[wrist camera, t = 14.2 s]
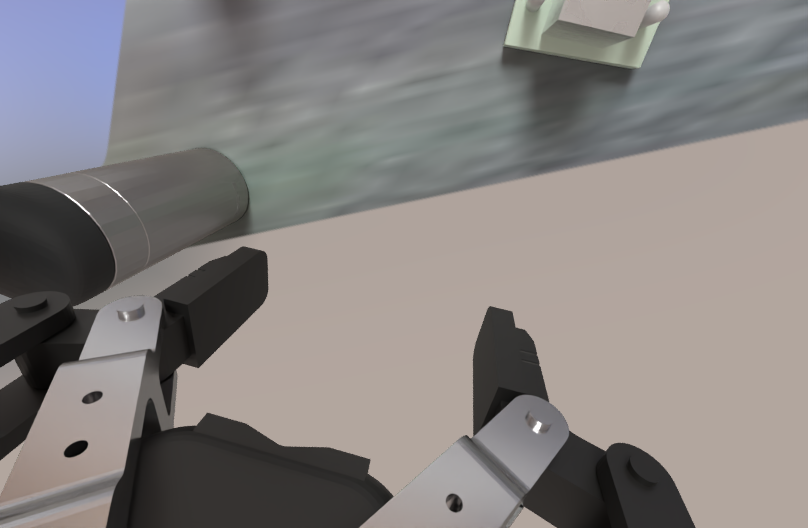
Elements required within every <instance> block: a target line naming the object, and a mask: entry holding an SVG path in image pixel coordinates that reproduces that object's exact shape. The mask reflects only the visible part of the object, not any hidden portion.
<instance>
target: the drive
mask: <svg viewBox="0 0 808 528" xmlns="http://www.w3.org/2000/svg"><path fill="white" fill-rule="evenodd" d="M650 2H651V0H553V3H552V5H551V8H550V11H549V14H548V17H547V20H546V23H545V26H544V29H543V32H542V34H543V35H547V36H552V37H556V38H560V39H564V40H569V41H573V42H577V43H581V44H586V45H590V46H594V47H598V48H606V47H608V46H611V45H614V44H617V43H620V42H622V41H625V40H628V39H631V38H633V37H635V35H636V33H637V31H638V28H639V26H640V24H641V22H642V20H643V17H644V15H645V13H646V11H647V9H648V7H649V4H650Z"/></svg>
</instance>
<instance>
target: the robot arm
mask: <svg viewBox="0 0 808 528" xmlns="http://www.w3.org/2000/svg"><path fill="white" fill-rule="evenodd" d="M247 205H248V191H247V186H246V183H245V180H244V178H243V176H242V175H241V173H240V171H239V170H238V169H237V167H236V166H235V165H234V164H233V163H232V162H231V161H230V160H229V159H228V158H227V157H225V156H224V155H222V154H221V153H219V152H217V151H214V150H212V149H207V148H196V149H191V150H186V151H180V152H175V153H169V154H164V155H159V156H154V157H149V158H143V159H138V160H133V161H128V162H123V163H118V164H112V165H107V166H102V167H97V168H92V169H87V170H81V171H76V172H71V173H66V174H62V175H57V176H51V177H47V178H41V179H36V180H31V181H25V182H19V183H14V184H9V185H3V186H0V294H2V295H5V296H7V297H9V298H12V299H10V300H8V301H5V302H3V303H1V304H0V367H2V366H4V365H5V364H7V363H9V362H10V361H12V360H13V359H15V361H16V363H17V365H18V367H19V369H20V370H21V373H22V376H20V377H19V378H17V379H16V380H14V381H13V382H11V383H10V384H8V385H7V386H5V387H4V388H2V389H1V390H0V460H1V459H3V458H4V457H5V456H6V455H7V454H9V453H10V452H11V451H12V450H13V449H15V448H16V447H17V446H18V445H19V444H21V443H22V442H23V441H24V440H25V442H24V444H23V447H22V449H21V451H20V453H19V455H18V458H17V460H16V462H15V464H14V466H13V469H12V471H11V473H10V475H9V477H8V480H7V482H6V484H5V486H4V488H3V491H2V493H1V495H0V528H509V527H510V526H511V525H512V523H513V522H514V520H515V519H516V518H517V516H518V515H519V514H520V512H521V511H522V509H523V508H524V507H526V508H527V509H529V510H531V511H532V512H534V513H535V514H537V515H538V516H540V517H541V518H543V519H544V520H546V521H547V522H549V523H551V524H552V525H554V526H555V527H557V528H695V525H694V523H693V521H692V519H691V517H690V515H689V513H688V511H687V508H686V506H685V504H684V502H683V500H682V498H681V496H680V493H679V491H678V489H677V487H676V485H675V483H674V481H673V480H672V478H671V476H670V475H669V474H668V472H667V471H666V470H665V469H664V467H663V466H662V465H661V464H660V463H659V462H658V461H657V460H655V459H654V458H653V457H652V456H650V455H649V454H648V453H646V452H644V451H643V450H641V449H639V448H637V447H635V446H632V445H630V444H625V443H615V444H613V445H611V446H610V447H609V448H608V449H607V451H604V450H602V449H600V448H598V447H596V446H595V445H593V444H591V443H589V442H587V441H585V440H583V439H582V438H580V437H578V436H576V435H575V434H573V433H572V432H571V431H569V428H568V424H567V422H566V420H565V418H564V416H563V415H562V414H561V413H560V411H558V409H557V408H556V407H554V406H553V405H552V404H550V403H549V399H548V395H547V391H546V388H545V383H544V379H543V375H542V371H541V367H540V366H539V360H538V357H537V352H536V348H535V344H534V341H533V340H532V338H531V337H530V336H529V334H528V333H527V332H526V331H525V330H523V329H519V328H515V323H514V318H513V313H512V312H511V311H508V310H504V309H499V308H495V307H491V306H490V307H489V308H488V310H487V312H486V315H485V318H484V321H483V324H482V326H481V329H480V332H479V335H478V338H477V341H476V345H475V349H474V355H473V434H474V435H473V437H472V438H471V439H470V438H469V437H468V436H467V435H465V436H463V437H461V438H460V439H458V440H457V441H456V442H455V443H454V444H453V445H452V446H450V447H449V448H448V449H447V450H446V451H445V452H444V453H442V454H441V455H440V456H439V457H438V458H437V459H436V460H435V461H433V463H431V464H430V465H429V466H428V467H427V468H426V469H424V470H423V471H422V472H421V473H420V474H419V475H418V476H417V477H415V478H414V479H413V480H412V481H411V482H410V483H409V484H408V485H406V486H405V487H404V488H403V489H402V490H401V491H400V492H399V493H397V494H396V495H395V496H393V495H392V494H391V493H390V492H389V491H388V490H387V489H386V488H385V486H383V485H382V484H381V483H380V482H379V481H378V480H376V479H375V478H374V477H372V476H370V475H369V474H368V469H369V464H370V459H367V458H363V457H360V456H357V455H353V454H350V453H346V452H343V451H339V450H336V449H332V448H326V447H325V448H324V447H285V446H281V445H278V444H277V443H275V442H274V441H272V440H270V439H269V438H267V437H266V436H264V435H263V434H261V433H260V432H258V431H257V430H255V429H253V428H252V427H250V426H249V425H247V424H245V423H242V422H238V421H234V420H231V419H228V418H224V417H220V416H217V415H214V414H210V413H207V414H206V415H205V416H204V417H203V419H202V420H201V421H200V422H199V423H198V425H197V426H184V427H178V428H174V413H175V401H176V389H177V371H176V369H177V368H178V367H179V366H180V365H182V364H186V365H189V366H193V367H197V368H199V367H200V366H201V365H202V364H203V363H204V362H205V361H206V360H207V359H208V358H209V357H210V356H211V355H212V354H213V353H214V352H215V351H216V350H217V349H218V348H219V347H220V346H221V345H222V344H223V343H224V342H225V341H226V340H227V339H228V338H229V337H230V336H231V335H232V334H233V333H234V332H235V331H236V330H237V329H238V328H239V327H240V326H241V325H242V324H243V323H244V322H245V321H246V320H247V319H248V318H249V317H250V316H251V315H252V314H253V313H254V312H255V311H256V310H257V309H258V308H259V307H260V306H261V305H262V304H263V302H264V301H265V299H266V297H267V293H268V265H267V255H266V253H265V252H264V251H261V250H256V249H252V248H248V247H241V248H239V249H238V250H236V251H235V252H233V253H231V254H230V255H228V256H224V257H221V258H218V259H215V260H212V261H209V262H208V263H206V264H205V265H203V266H201V267H200V268H198V270H195V271H194V272H192V273H190V274H189V276H188V277H187V276H186V277H184V278H182V279H181V280H179V281H178V282H176V283H175V284H173V285H171V286H170V287H168V288H167V289H165V290H163V291H162V292H160V293H159V294H157V295H156V296H154V297H151V296H144V295H139V296H129V297H125V298H121V299H118V300H115V301H113V302H111V303H109V304H107V305H105V306H104V307H103V308H102V309H100V310H88V309H73V306H76V305H78V304H81V303H83V302H85V301H87V300H89V299H91V298H93V297H94V296H97V295H98V294H100V293H102V292H104V291H106V290H108V289H110V288H111V287H114V286H115V285H117V284H119V283H121V282H123V281H125V280H126V279H129V278H130V277H132V276H134V275H136V274H138V273H140V272H141V271H143V270H145V269H147V268H149V267H151V266H153V265H154V264H156V263H158V262H160V261H162V260H164V259H166V258H168V257H169V256H171V255H173V254H175V253H177V252H179V251H181V250H183V249H185V248H186V247H188V246H190V245H192V244H194V243H196V242H198V241H200V240H201V239H203V238H205V237H207V236H209V235H211V234H213V233H215V232H217V231H218V230H220V229H222V228H224V227H226V226H228V225H229V224H231V223H233V222H235V221H237V220H239V219H240V218H241V217H242V216H243V214H244V213H245V211H246V209H247Z"/></svg>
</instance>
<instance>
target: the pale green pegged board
mask: <svg viewBox="0 0 808 528" xmlns="http://www.w3.org/2000/svg"><path fill="white" fill-rule="evenodd" d="M668 2H669V0H651V2H650V4H649V7H648V9H647V11H646V13H645V15H644V17H643V20H642V22H641V24H640V26H639V28H638V31H637V33H636V35H635V37H633V38H631V39H628V40H625V41H622V42H620V43H617V44H614V45H611V46H608V47H606V48H598V47H594V46H590V45H586V44H581V43H577V42H573V41H569V40H564V39H560V38H556V37H552V36H547V35H543V34H542V32H543V29H544V26H545V23H546V20H547V17H548V14H549V11H550V8H551V5H552V3H553V0H515V3H514V7H513V10H512V14H511V18H510V22H509V26H508V30H507V34H506V38H505V41H504V45H503V47H509V48H515V49H520V50H526V51H532V52H537V53H543V54H549V55H555V56H560V57H566V58H572V59H577V60H583V61H589V62H594V63H600V64H606V65H611V66H617V67H623V68H628V69H636V68H640V66H641V64H642V62H643V60H644V57H645V55H646V53H647V50H648V48H649V46H650V43H651V41H652V39H653V36H654V34H655V32H656V30H657V27H658V25H659V23H660V21H662V20H663V19H665V18H666V17H667V15H668V13H669V10H670V6H669V4H668Z"/></svg>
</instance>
